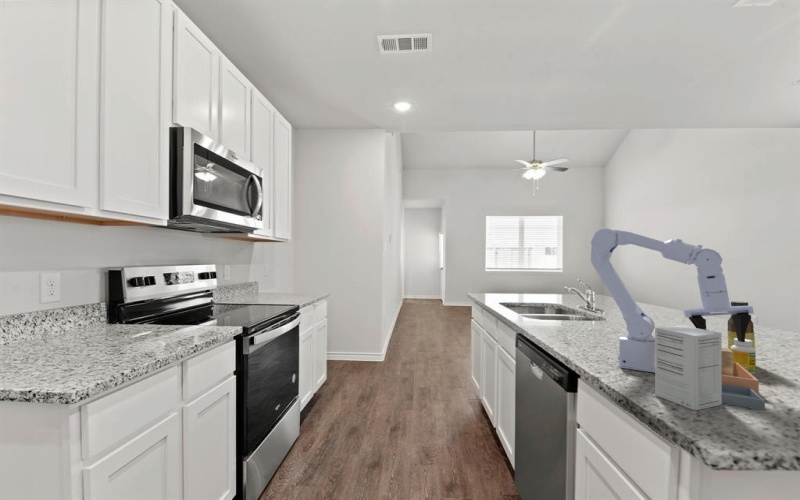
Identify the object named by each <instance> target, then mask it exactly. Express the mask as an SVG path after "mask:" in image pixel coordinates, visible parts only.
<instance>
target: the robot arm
mask: <svg viewBox="0 0 800 500" xmlns="http://www.w3.org/2000/svg"><path fill="white" fill-rule="evenodd" d="M590 243H591V244H590V245H591V250H590V252H591V253H590V262H591V264H592V266H593V268H594V269H595V271H596V273H597V274H598V276H599V278H600V279H601V281H602V283H604V286H605V287H606V288H607V291H608V292H609V294H610V296H611V297H612V299H613V300H614V302H615V303H616V305H617V308H618V309H619V310H620V311H621V315H622V317H623V319H624V322H625V323H626V331H627V334H626V336H618V338H619V339H618V342H619V343H618V346H619V347H618V354H617V360H618V362H619V363H618V364H619V368H621V369H626V370H627V369H628V370H634V371H642V372H649V373H654V374H655V336H653V331H655V322H654V320H653V319H652V318H651V317H649V316H648V315H647V314H646V313H645V312H644V311H643V309H642V308H641V307H640V306H639V305H638V304H637V302H636V300H635V299H634V297H633V296H632V294H631V292H630V291H629V290H628V288H627V287H626V285H625V283H624V281H623V280H622V278H621V277H620V275H619V274H618V272H617V271H616V269H615V267H614V266H613V264H612V263H611V257H612V254H613V251H615V249H616V248H618V246H626V245H627V246H628V245H634V246H636V247H641V248H645V249H648V250H652V251H656V252H659V253H661V256H662V257H663V258H664V259H667V260H671V261H674V262H678V263H681V264H684V265H689V266H690V265H693V264H694V266H696V271H697V276H696V278H697V282H698V283H697V284H698V288H699V293H700V299H701V304H702V307H699V308H689V309H683V313H684V314H683V315H684V317H685V318H688V320H689V321H690V322H691V323H692V324H693V326H694V328H698V329H704V330H707V319H706V318H704V317H709V316H722V315H723V316H725V315H726V316H727V315H730V317H732V319H733V322H734V325H735V329H736V335H737V339H738V341H740V342H745V334H746V329H747V326H748V324H749V322H750V320H751V321H752V315H753V314H755V311H754V308H753V306H752V305H748V306H731V301H730V298H729V292H728V288H727V282H726V278H725V274H724V273H723V272H724V271H723V270H724V269H723V267H722V266H721V265H722V264H723V258H722V256H721V254H720V253H719V252H718V251H717V250H714V249H710V248H703V245H702V244H697V245H695V244H692V243H687V242H684V241H683V239H680V238H676V239H669V240H666V241H662V240H658V239H655V238H652V237H647V236H644V235H641V234H638V233H634V232H632V231H626V230H619V229H614V230H613V229H611V228H607V227H606V228H605V227H603V228H600V229H598V230H597V231H595V233H594V235H593V237H592V238H591V241H590Z"/></svg>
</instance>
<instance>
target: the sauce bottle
mask: <svg viewBox="0 0 800 500" xmlns="http://www.w3.org/2000/svg"><path fill="white" fill-rule="evenodd" d="M730 306H749V302H748V301H741V300H731V301H730ZM755 337H756V336H755V329H754V322H753V321H752V319H751V320H750V322H749V324H748V326H747V329H746V334H745V339H748V340H752V342H753V345H752V346H751V347H752V348H754V349H755V350H756V339H755ZM734 338H737V335H736V329H735V325H734V322H733V319H732V317H731V316H730V317H729V319H728V320H727V349H730V350H731V346H732V345H735V344H734Z"/></svg>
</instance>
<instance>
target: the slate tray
mask: <svg viewBox="0 0 800 500" xmlns="http://www.w3.org/2000/svg"><path fill="white" fill-rule="evenodd" d="M722 404H726V405H732V406H737V407H738V406H739V407H743V408H745V407H746V408H749V409H755V410H763V411H765V410H766V407H765V406H766V401H765V399H763V398H762V396H760V395H758V394H757V393H756V392H755V391H754V390H753V389H752V388H746V387H739V386H733V385H726V384H722Z"/></svg>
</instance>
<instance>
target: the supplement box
mask: <svg viewBox="0 0 800 500" xmlns="http://www.w3.org/2000/svg"><path fill="white" fill-rule="evenodd" d="M722 335H723V334H722V332H718V331H714V330H709V329H706V330H704V329H698V328H696V327H692V326H688V325H682V324H681V325H680V324H679V325H670V326H668V325H667V326H661V327H660V326H659V327H654V338H655V373H654V378H655V379H654V381H655V382H654V383H655V384H654V386H655V387H654V388H655V389H654V390H655V391H654V392H655V393H654V394H655V396H657V397H658V398H662V399H664V400H667V401H670V402H671V403H675V404H677V405H679V406H683V407H684V408H688V409H691V410H692V411H695V412H697V411H700V410H704V409H709V408H712V407H713V408H714V407H718V406H722V404H723V403H722V364H721V363H722V348H723V347H722V346H723V345H722V344H723V343H722V342H723V340H722V337H723V336H722Z"/></svg>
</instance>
